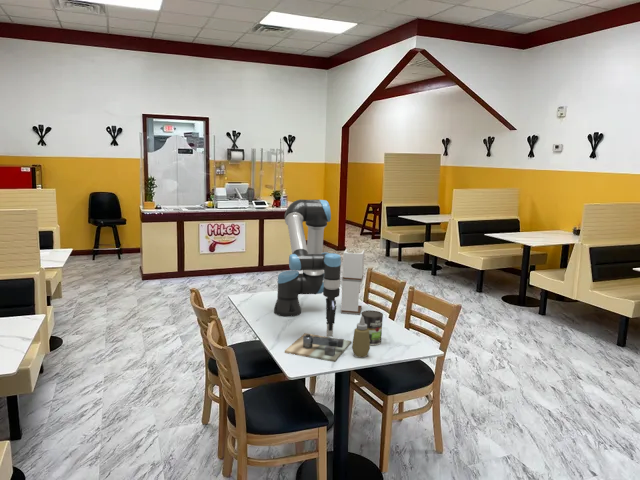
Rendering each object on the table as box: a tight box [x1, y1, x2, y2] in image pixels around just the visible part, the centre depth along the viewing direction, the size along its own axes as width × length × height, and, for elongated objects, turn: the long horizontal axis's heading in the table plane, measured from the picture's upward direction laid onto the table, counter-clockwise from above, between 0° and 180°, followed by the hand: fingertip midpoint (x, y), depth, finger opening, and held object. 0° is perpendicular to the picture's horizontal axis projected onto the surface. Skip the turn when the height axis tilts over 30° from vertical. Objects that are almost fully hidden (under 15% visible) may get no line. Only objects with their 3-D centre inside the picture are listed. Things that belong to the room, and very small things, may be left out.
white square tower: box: [340, 248, 365, 316], centre depth 281 cm, size 11×11×35 cm
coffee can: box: [360, 310, 384, 346], centre depth 238 cm, size 10×10×14 cm
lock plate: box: [284, 332, 352, 363], centre depth 229 cm, size 24×24×7 cm
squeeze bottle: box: [351, 315, 371, 358], centre depth 221 cm, size 8×8×18 cm
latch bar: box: [303, 335, 345, 348], centre depth 225 cm, size 18×4×5 cm, turn 78°
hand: (329, 336), depth 232 cm, fingers closed
